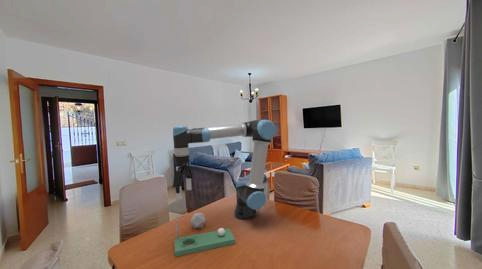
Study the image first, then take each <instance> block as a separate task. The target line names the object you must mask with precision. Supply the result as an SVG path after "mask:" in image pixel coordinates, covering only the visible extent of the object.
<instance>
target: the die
mask: <svg viewBox="0 0 482 269" xmlns="http://www.w3.org/2000/svg"><path fill="white" fill-rule="evenodd" d="M206 221H207V219H206V217H205V214H204V212H194V213H193V215H192V217H191V219H190V223H191V225H192V227H193V229H203V228H204V225H205V223H206Z"/></svg>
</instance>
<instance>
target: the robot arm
mask: <svg viewBox="0 0 482 269" xmlns="http://www.w3.org/2000/svg"><path fill="white" fill-rule="evenodd" d="M276 134H277V127H276V125H275V124H274V122H273V121H271V120H268V119H255V120H251V121H247V122H245V121H244V122H241V123H239V124H229V125H218V126H207V127H198V128H197V127H195V128H191V129H189V128H188V126H187V125H185V126H184V125H183V126H182V125H181V126H179V125H178V126H174V127H173V128H172V138H173V152H174V163H175V164H177V166H175V167H174V175H173V184H172V187H173V188H175V199H176V200H183V194H182V186H181V184H182V180H183V176H184V175H185V177H186V178H185V182H186V183H185V186H186V191H192V188H193V187H192V179H193V170H192V168H191V165H190V164H191V162H190V160H191V159H190V146H189V144H200V143H201V144H202V143H209V142H210V141H211V140H215V139H224V138H234V137H243V138H246V137H248V138H249V137H250V138H252V139H251V141H252V142H253V151H252V155H251V156H252V157H251V164H250V172H249V178H248V180H240V181H237V182H236V183H235V192H236V193H235V195H236V197H235V198H236V205H235V208H234V210H233V211H234V212H233V214H234V218H236V219H238V220H252V219H254V218H256V217H257V215H258V214H257V210H260V209H262V207H265V205H266V203H267V195H266V193H265V185H264V177H265V172H266V170H265V169H266V162H267V155H268V147H269V145H270V144H272V140H273V138H274V137H275V136H276Z"/></svg>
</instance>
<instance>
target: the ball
mask: <svg viewBox="0 0 482 269" xmlns="http://www.w3.org/2000/svg"><path fill="white" fill-rule="evenodd" d="M224 229H225V228H224V227H220V228H218V229H217V230H218V235H219V236H223V235H224V234H225V230H224Z"/></svg>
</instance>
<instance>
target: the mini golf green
mask: <svg viewBox="0 0 482 269" xmlns="http://www.w3.org/2000/svg"><path fill="white" fill-rule="evenodd" d="M223 229H224V230H225V234H224V235H223V236H219V235H218V229H217V230H213V231H208V232H201V233H196V234H191V235H188V236H187V235H186V236H181V237H179V225H178V217H175V230H176V231H175V232H176V238H174V257H175V258H176V257H180V256H186V255H191V254H193V253H195V254H196V253H199V252H204V251H208V250H213V249H217V248H223V247H227V246H231V245H235V244H236V238H235V237H234V236H235V235H233V232H232V230H231V228H230V227H227V228H223Z"/></svg>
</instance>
